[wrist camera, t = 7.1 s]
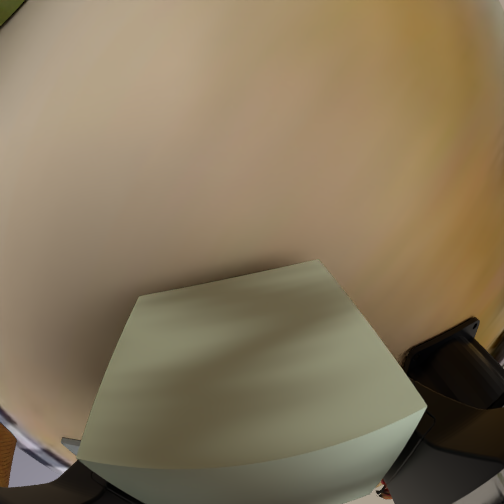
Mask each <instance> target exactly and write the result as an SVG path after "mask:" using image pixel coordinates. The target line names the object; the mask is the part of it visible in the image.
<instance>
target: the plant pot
mask: <svg viewBox="0 0 504 504" xmlns="http://www.w3.org/2000/svg"><path fill="white" fill-rule="evenodd" d="M23 2H24V0H0V26H1V25H2V24H3V23H4V22H5V21H6V20H7V19H8V18H9V17H10V16H11V15H12V14H13V13H14V12H15V11H16V9H17V8H18V7H19V6H20V5H21V4H22V3H23Z"/></svg>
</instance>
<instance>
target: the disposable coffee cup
mask: <svg viewBox="0 0 504 504" xmlns="http://www.w3.org/2000/svg"><path fill="white" fill-rule="evenodd" d="M16 442H17V440H16V438H15V437H14V436H13V435H12V433H11V432H10V431H9V430H8V429H7V428H6V427H4V426H3V425H2V424H1V423H0V487H6V488H8V485H9V478H10V471H11V465H12V460H13V455H14V450H15V446H16Z"/></svg>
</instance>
